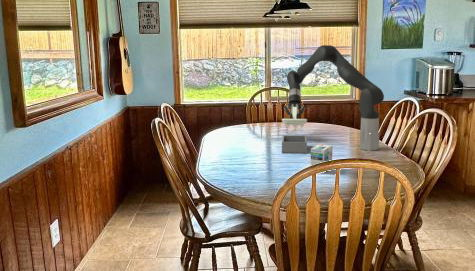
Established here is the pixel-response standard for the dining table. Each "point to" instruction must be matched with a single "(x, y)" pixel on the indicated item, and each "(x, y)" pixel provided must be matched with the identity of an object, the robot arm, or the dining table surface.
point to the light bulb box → (321, 154)
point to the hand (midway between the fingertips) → (294, 119)
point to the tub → (294, 144)
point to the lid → (294, 119)
